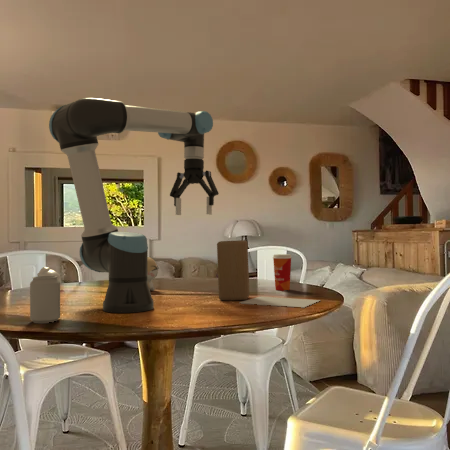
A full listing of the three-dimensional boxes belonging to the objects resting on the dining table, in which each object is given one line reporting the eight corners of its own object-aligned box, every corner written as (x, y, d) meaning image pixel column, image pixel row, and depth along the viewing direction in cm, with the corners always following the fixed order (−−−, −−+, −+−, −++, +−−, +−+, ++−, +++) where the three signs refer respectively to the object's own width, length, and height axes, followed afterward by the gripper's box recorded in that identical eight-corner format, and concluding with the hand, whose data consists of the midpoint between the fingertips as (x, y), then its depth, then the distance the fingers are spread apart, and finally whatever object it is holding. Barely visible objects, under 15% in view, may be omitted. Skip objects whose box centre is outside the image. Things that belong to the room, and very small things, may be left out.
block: (249, 296, 168) (247, 240, 169) (248, 300, 158) (246, 240, 159) (221, 297, 169) (219, 241, 170) (218, 301, 159) (216, 241, 160)
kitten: (155, 293, 182) (155, 254, 182) (129, 293, 182) (129, 254, 182) (160, 288, 197) (160, 252, 197) (136, 288, 197) (136, 252, 197)
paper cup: (269, 289, 191) (269, 254, 191) (287, 288, 193) (286, 254, 193) (277, 291, 183) (277, 255, 184) (295, 290, 186) (295, 254, 186)
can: (63, 318, 130) (63, 274, 130) (55, 323, 122) (54, 277, 123) (36, 318, 130) (36, 275, 130) (25, 324, 122) (25, 277, 122)
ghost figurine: (41, 290, 194) (41, 266, 194) (64, 290, 194) (64, 265, 194) (31, 293, 185) (31, 267, 185) (55, 293, 185) (55, 267, 185)
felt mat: (303, 308, 143) (303, 307, 143) (239, 303, 154) (239, 302, 154) (320, 301, 157) (320, 300, 157) (260, 297, 168) (260, 296, 168)
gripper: (227, 158, 179) (227, 214, 179) (171, 162, 191) (171, 215, 190) (218, 155, 173) (217, 213, 172) (161, 160, 184) (160, 214, 183)
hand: (193, 214), depth 181 cm, fingers open, 13 cm apart
